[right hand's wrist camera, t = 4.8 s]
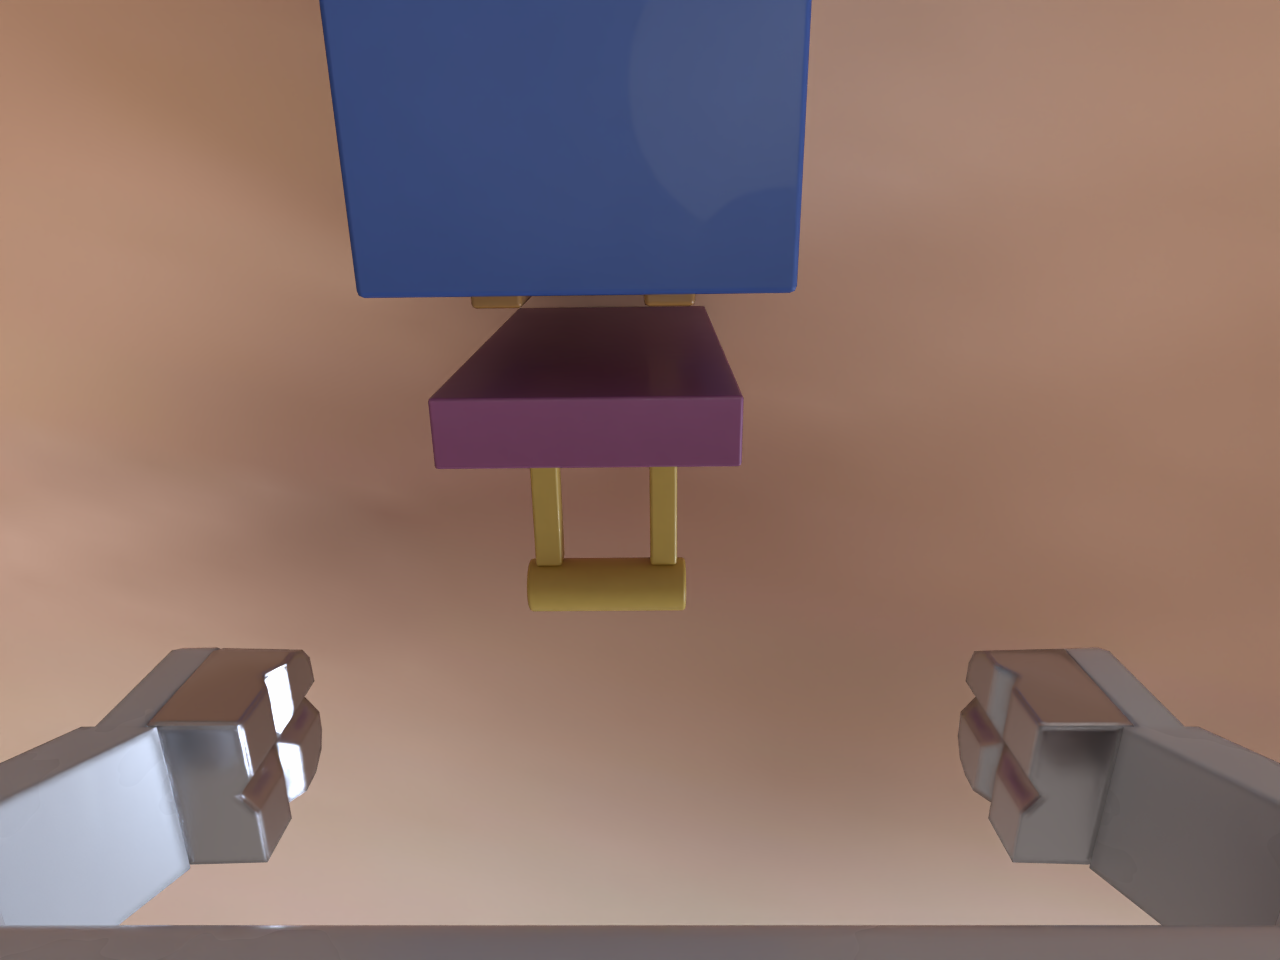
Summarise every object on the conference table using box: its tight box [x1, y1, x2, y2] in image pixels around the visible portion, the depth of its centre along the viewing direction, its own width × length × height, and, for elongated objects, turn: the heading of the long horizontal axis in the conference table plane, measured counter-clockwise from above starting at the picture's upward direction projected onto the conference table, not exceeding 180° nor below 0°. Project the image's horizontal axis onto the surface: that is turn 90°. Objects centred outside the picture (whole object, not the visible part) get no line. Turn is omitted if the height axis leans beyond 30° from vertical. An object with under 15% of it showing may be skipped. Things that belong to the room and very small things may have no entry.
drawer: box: [428, 294, 744, 611], centre depth 16 cm, size 23×5×10 cm, turn 1°
